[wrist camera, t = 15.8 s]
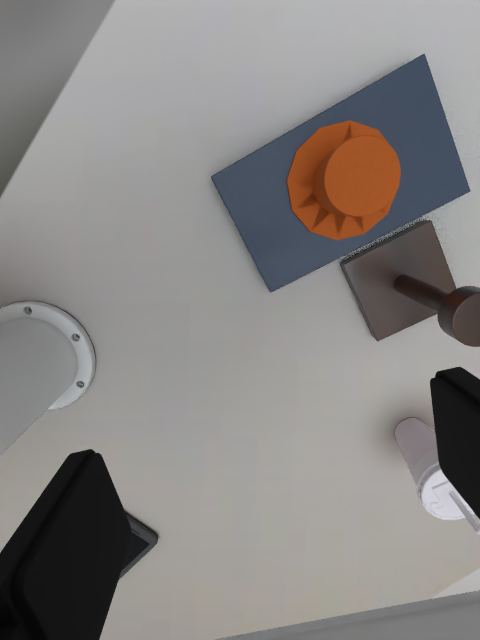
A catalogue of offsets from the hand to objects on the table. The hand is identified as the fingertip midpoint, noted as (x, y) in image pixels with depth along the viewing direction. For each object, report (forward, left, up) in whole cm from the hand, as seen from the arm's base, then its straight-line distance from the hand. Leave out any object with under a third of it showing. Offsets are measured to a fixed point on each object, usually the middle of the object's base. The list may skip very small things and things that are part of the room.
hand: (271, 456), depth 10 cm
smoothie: (+8, -25, -29) cm, 39 cm away
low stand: (+11, +4, -29) cm, 31 cm away
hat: (+11, +4, -26) cm, 29 cm away
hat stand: (+13, -7, -29) cm, 32 cm away
